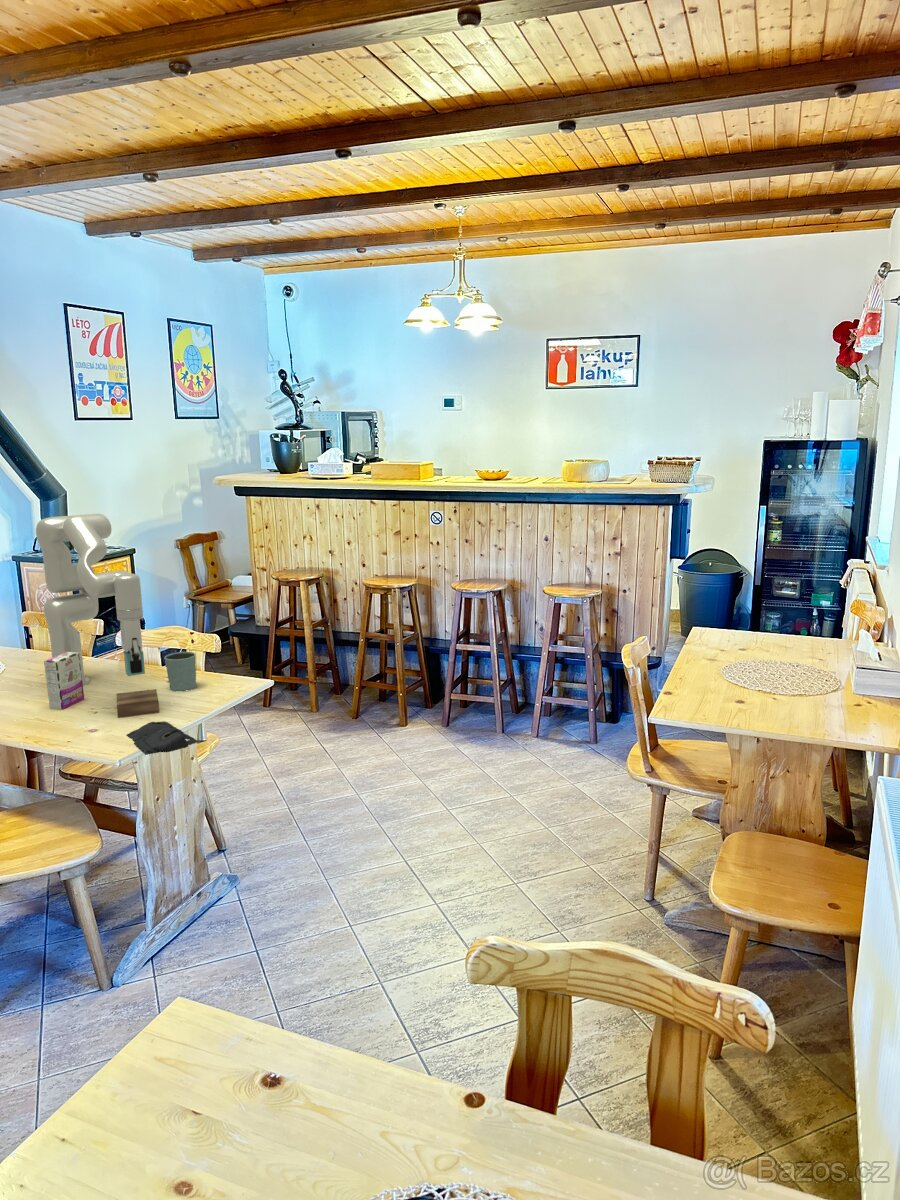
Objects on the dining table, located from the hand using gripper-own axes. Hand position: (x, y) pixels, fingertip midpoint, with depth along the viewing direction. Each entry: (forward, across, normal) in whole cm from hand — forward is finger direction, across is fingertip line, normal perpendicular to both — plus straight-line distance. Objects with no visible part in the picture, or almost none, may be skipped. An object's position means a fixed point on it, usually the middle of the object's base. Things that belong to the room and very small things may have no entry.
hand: (135, 669), depth 249 cm
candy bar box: (+14, -18, -19) cm, 30 cm away
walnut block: (+14, 0, 0) cm, 14 cm away
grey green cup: (+14, -16, +17) cm, 27 cm away
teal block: (+1, 0, 0) cm, 1 cm away
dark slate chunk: (+14, +31, +1) cm, 34 cm away
